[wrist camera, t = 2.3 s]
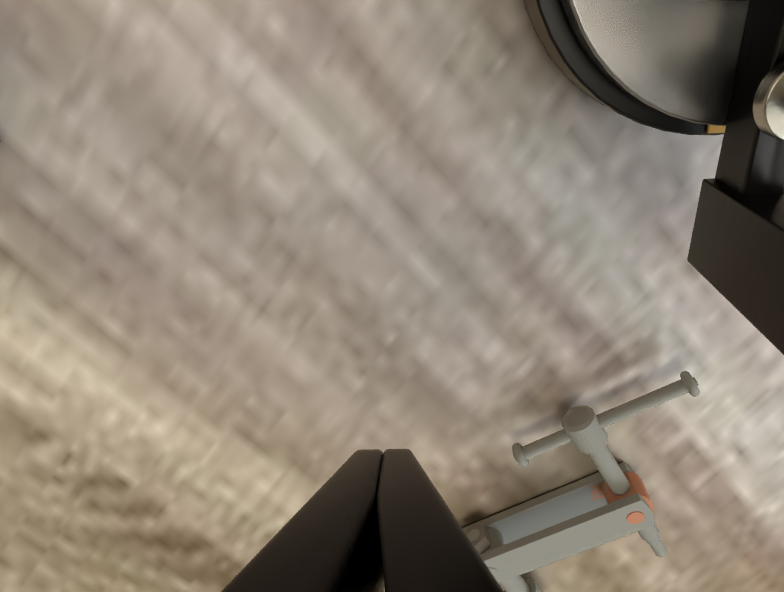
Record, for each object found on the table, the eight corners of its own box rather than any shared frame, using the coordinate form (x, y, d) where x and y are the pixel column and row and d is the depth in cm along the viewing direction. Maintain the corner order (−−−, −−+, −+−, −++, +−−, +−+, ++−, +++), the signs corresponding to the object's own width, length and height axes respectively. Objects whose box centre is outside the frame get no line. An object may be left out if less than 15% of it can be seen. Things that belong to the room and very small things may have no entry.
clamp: (463, 664, 28) (342, 540, 24) (459, 619, 30) (348, 498, 26) (785, 555, 24) (702, 385, 20) (757, 512, 25) (676, 349, 22)
